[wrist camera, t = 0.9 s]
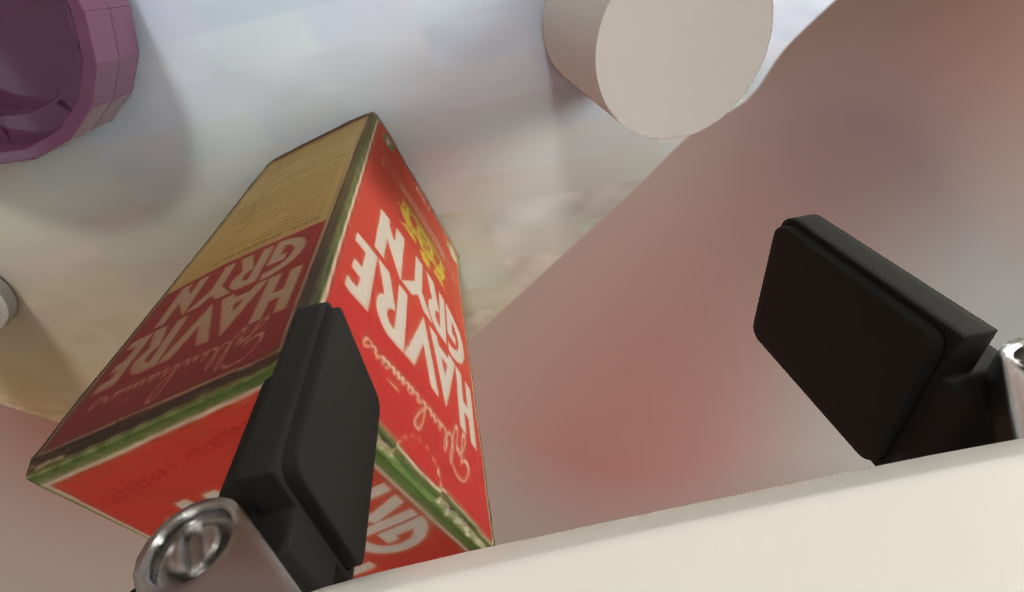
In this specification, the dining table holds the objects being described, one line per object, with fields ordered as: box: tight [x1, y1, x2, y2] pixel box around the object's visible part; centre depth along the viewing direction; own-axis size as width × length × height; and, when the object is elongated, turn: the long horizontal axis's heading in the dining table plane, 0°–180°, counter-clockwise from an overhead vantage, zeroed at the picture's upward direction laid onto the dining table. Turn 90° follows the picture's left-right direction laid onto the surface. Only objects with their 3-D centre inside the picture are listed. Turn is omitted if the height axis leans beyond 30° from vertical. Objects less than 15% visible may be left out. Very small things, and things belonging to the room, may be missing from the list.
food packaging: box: [26, 112, 495, 579], centre depth 26 cm, size 13×9×25 cm
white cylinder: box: [542, 0, 773, 139], centre depth 26 cm, size 8×8×12 cm
